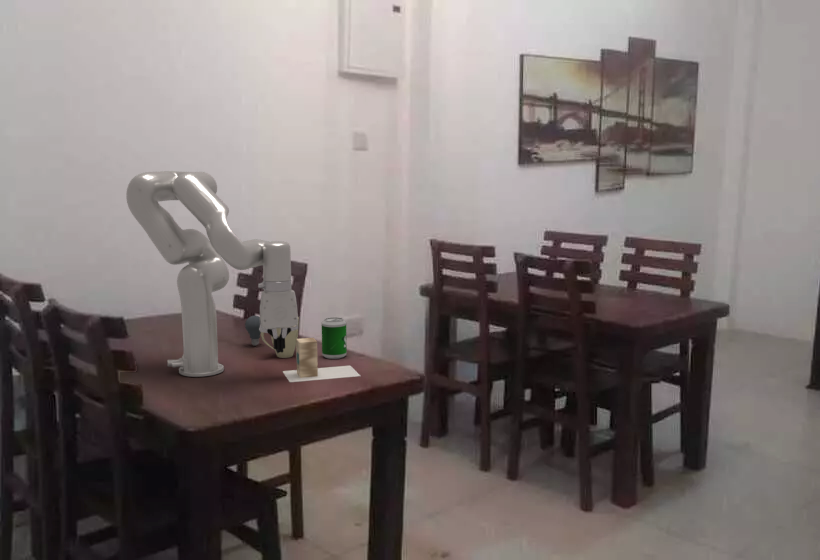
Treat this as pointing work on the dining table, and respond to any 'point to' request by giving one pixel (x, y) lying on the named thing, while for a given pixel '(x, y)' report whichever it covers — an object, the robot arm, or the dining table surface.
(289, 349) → the mug
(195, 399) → the dining table surface
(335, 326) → the soda can
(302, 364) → the maple block
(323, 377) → the felt mat
